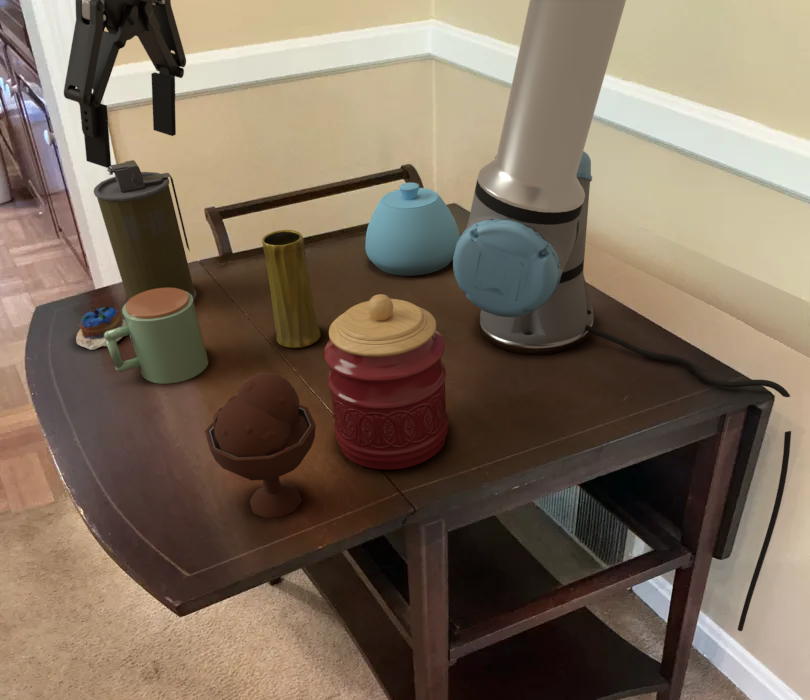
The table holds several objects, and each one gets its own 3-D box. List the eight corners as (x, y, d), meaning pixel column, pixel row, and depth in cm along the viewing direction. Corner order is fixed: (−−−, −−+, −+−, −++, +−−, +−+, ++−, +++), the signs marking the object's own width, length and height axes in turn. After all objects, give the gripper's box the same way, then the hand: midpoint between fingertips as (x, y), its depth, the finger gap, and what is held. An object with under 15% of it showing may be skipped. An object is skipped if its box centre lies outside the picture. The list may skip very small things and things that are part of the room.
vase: (313, 350, 115) (297, 247, 105) (271, 348, 116) (251, 246, 106) (325, 328, 119) (311, 228, 110) (284, 327, 120) (266, 227, 111)
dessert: (109, 312, 126) (110, 288, 121) (138, 345, 126) (140, 323, 120) (63, 337, 122) (62, 313, 117) (93, 371, 122) (93, 349, 117)
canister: (134, 322, 125) (92, 183, 111) (123, 295, 132) (82, 161, 119) (206, 304, 128) (174, 167, 114) (191, 279, 135) (158, 147, 122)
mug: (217, 370, 112) (202, 304, 106) (129, 398, 108) (107, 332, 102) (195, 343, 118) (179, 279, 112) (111, 369, 114) (89, 304, 108)
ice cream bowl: (270, 460, 96) (245, 341, 86) (347, 491, 91) (329, 369, 81) (203, 511, 90) (168, 389, 80) (281, 548, 85) (253, 422, 75)
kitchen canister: (315, 437, 99) (292, 296, 87) (403, 396, 104) (392, 258, 93) (380, 488, 91) (364, 340, 79) (472, 440, 96) (469, 295, 85)
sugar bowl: (375, 285, 129) (368, 209, 121) (359, 248, 140) (352, 175, 132) (471, 271, 130) (470, 194, 123) (447, 235, 141) (445, 162, 134)
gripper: (157, -85, 96) (163, 112, 111) (7, -64, 78) (37, 168, 93) (216, -68, 95) (214, 129, 109) (77, -43, 77) (97, 188, 92)
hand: (133, 147), depth 101 cm, fingers open, 13 cm apart
